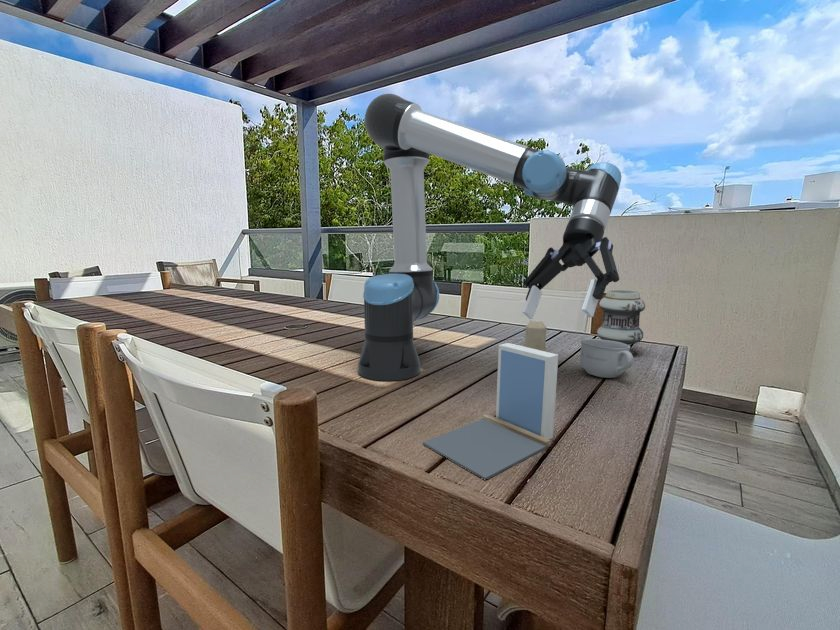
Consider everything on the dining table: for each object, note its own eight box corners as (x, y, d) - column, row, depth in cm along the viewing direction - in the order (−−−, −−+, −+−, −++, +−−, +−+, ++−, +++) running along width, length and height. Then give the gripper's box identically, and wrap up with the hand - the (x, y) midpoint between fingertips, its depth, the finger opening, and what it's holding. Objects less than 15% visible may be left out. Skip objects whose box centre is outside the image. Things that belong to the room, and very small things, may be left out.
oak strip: (487, 419, 75) (487, 413, 75) (550, 446, 65) (550, 440, 65) (482, 420, 74) (482, 415, 74) (545, 448, 65) (546, 442, 64)
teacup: (571, 368, 106) (573, 337, 105) (612, 367, 107) (614, 336, 105) (599, 387, 92) (601, 352, 91) (645, 385, 93) (649, 351, 92)
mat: (486, 419, 75) (486, 417, 75) (549, 446, 65) (549, 444, 65) (422, 444, 66) (422, 442, 66) (485, 480, 56) (485, 478, 56)
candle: (545, 354, 118) (547, 320, 116) (544, 359, 113) (546, 323, 111) (525, 353, 120) (527, 318, 118) (523, 358, 115) (525, 322, 113)
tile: (504, 417, 76) (507, 342, 74) (552, 437, 68) (558, 354, 66) (495, 421, 74) (498, 345, 72) (543, 442, 67) (548, 357, 64)
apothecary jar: (601, 345, 129) (605, 287, 126) (644, 351, 123) (650, 290, 119) (591, 353, 120) (595, 291, 117) (637, 360, 113) (644, 294, 110)
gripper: (655, 226, 79) (628, 323, 72) (546, 247, 99) (517, 324, 92) (637, 200, 75) (606, 300, 68) (528, 228, 96) (496, 307, 89)
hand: (555, 314), depth 80 cm, fingers open, 13 cm apart
